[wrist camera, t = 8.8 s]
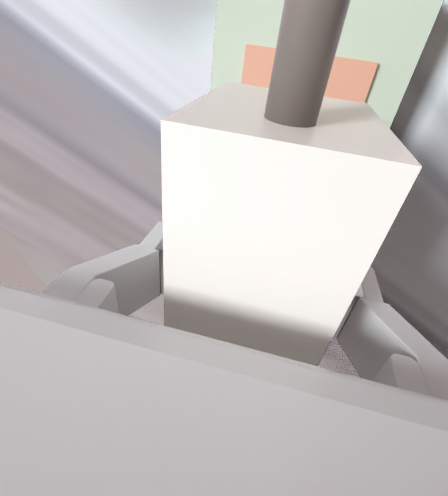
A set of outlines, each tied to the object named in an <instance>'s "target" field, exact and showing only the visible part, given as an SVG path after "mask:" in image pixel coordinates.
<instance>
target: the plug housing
mask: <svg viewBox="0 0 448 496" xmlns="http://www.w3.org/2000/svg"><path fill="white" fill-rule="evenodd" d="M349 4H350V0H284V6H283V11H282V17H281V22H280V28H279V34H278V39H277V45H276V51H275V56H274V62H273V68H272V73H271V79H270V85H269V88H267V87H260V86H254V85H248V84H241V83H235V82H229V81H228V82H226V83H224V84H222V85H221V86H219V87H217V88H215V89H214V90H212V91H210V92H208V93H207V94H205V95H203V96H201V97H200V98H198V99H196V100H194V101H193V102H191V103H189V104H187V105H186V106H184V107H182V108H180V109H179V110H177V111H175V112H174V113H172V114H170V115H168V116H167V117H165V118H163V119H161V162H162V219H163V277H164V325H165V326H168V327H172V328H176V329H180V330H183V331H187V332H191V333H195V334H198V335H202V336H206V337H210V338H214V339H217V340H221V341H225V342H229V343H232V344H236V345H240V346H244V347H247V348H251V349H255V350H259V351H263V352H266V353H270V354H274V355H278V356H281V357H285V358H289V359H293V360H296V361H300V362H304V363H308V364H311V365H315V366H318V365H319V363H320V361H321V359H322V357H323V355H324V353H325V352H326V350H327V348H328V346H329V344H330V342H331V340H332V338H333V336H334V334H335V332H336V331H337V329H338V327H339V325H340V323H341V321H342V319H343V317H344V315H345V313H346V311H347V309H348V308H349V306H350V304H351V302H352V300H353V298H354V296H355V294H356V292H357V290H358V288H359V287H360V285H361V283H362V281H363V279H364V277H365V275H366V273H367V271H368V269H369V267H370V266H371V264H372V262H373V260H374V258H375V256H376V254H377V252H378V250H379V248H380V246H381V245H382V243H383V241H384V239H385V237H386V235H387V233H388V231H389V229H390V227H391V225H392V224H393V222H394V220H395V218H396V216H397V214H398V212H399V210H400V208H401V206H402V204H403V203H404V201H405V199H406V197H407V195H408V193H409V191H410V189H411V187H412V185H413V183H414V182H415V180H416V178H417V176H418V174H419V172H420V170H421V168H422V166H421V164H420V163H419V162H418V161H417V160H416V159H415V157H414V156H413V155H412V154H411V153H410V152H409V151H408V149H407V148H406V147H405V146H404V145H403V144H402V142H401V141H400V140H399V139H398V138H397V137H396V135H395V134H394V133H393V132H392V131H391V130H390V128H389V127H388V126H387V125H386V124H385V123H384V121H383V120H382V119H381V118H380V117H379V116H378V114H377V113H376V112H375V111H374V110H373V109H372V107H371V106H370V105H369V104H368V103H361V102H355V101H349V100H342V99H336V98H330V97H324V94H325V90H326V87H327V83H328V79H329V76H330V72H331V69H332V65H333V61H334V58H335V54H336V51H337V47H338V44H339V40H340V36H341V33H342V29H343V26H344V22H345V18H346V15H347V11H348V8H349Z"/></svg>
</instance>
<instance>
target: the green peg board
mask: <svg viewBox="0 0 448 496" xmlns="http://www.w3.org/2000/svg"><path fill="white" fill-rule="evenodd" d="M443 1H444V0H350V4H349V8H348V11H347V15H346V18H345V22H344V26H343V29H342V33H341V36H340V40H339V44H338V47H337V51H336V54H335V58H334V61H333V65H332V69H331V72H330V76H329V79H328V83H327V87H326V90H325V94H324V97H330V98H336V99H342V100H349V101H355V102H361V103H368V104H369V105H370V106H371V107H372V109H373V110H374V111H375V112H376V113H377V114H378V116H379V117H380V118H381V119H382V120H383V121H384V123H385V124H386V125H387V126H388V127H389V128H390V127H391V124H392V122H393V119H394V117H395V115H396V112H397V110H398V108H399V105H400V103H401V100H402V98H403V96H404V93H405V91H406V89H407V86H408V84H409V82H410V79H411V77H412V74H413V72H414V70H415V67H416V65H417V63H418V60H419V58H420V56H421V53H422V51H423V48H424V46H425V44H426V41H427V39H428V37H429V34H430V32H431V30H432V27H433V25H434V22H435V20H436V18H437V15H438V13H439V11H440V8H441V6H442V3H443ZM283 6H284V0H217V5H216V19H215V33H214V47H213V61H212V75H211V89H210V91H212V90H214V89H215V88H217V87H219V86H221V85H222V84H224V83H226V82H228V81H229V82H235V83H241V84H248V85H254V86H260V87H267V88H269V85H270V79H271V73H272V68H273V62H274V56H275V51H276V45H277V39H278V34H279V28H280V22H281V17H282V11H283Z"/></svg>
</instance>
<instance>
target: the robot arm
mask: <svg viewBox="0 0 448 496" xmlns="http://www.w3.org/2000/svg"><path fill="white" fill-rule="evenodd" d="M160 294H164V277H163V221H159V222H158V223H157V224H156V225H155V226H154V228H153V229H152V230H151V231H150V232H149V234H148V235H147V236H146V237H145V238H144V240H143V241H142V242H141V243H140V245H132V246H129V247H126V248H123V249H121V250H118V251H115V252H112V253H109V254H106V255H104V256H101V257H98V258H95V259H92V260H89V261H87V262H84V263H81V264H78V265H75V266H73V267H70V268H67V269H65V270H64V271H63V272H62V273H61V274H60V275H59V276H58V277H57V278H56V279H55V280H54V281H53V282H52V283H51V284H50V285H49V286H48V287H46V288H45V289H44V290H43V291H42V292H41V293H40V292H37V291H33V290H29V289H25V288H22V287H18V286H14V285H10V284H7V283H3V282H0V496H448V359H447V358H446V357H445V356H443V355H442V354H441V353H440V352H439V351H438V350H437V349H436V348H435V347H434V346H433V345H432V344H431V343H430V342H429V341H428V340H426V339H425V338H424V337H423V336H422V335H421V334H420V333H419V332H418V331H417V330H416V329H415V328H414V327H413V326H412V325H411V324H409V323H408V322H407V321H406V320H405V319H404V318H403V317H402V316H401V315H400V314H399V313H398V312H397V311H396V310H395V309H393V308H392V307H391V306H390V305H389V304H386V303H384V302H383V298H382V295H381V291H380V288H379V284H378V281H377V278H376V274H375V271H374V269H373V268H372V267H369V269H368V271H367V273H366V275H365V277H364V279H363V281H362V283H361V285H360V287H359V288H358V290H357V292H356V294H355V296H354V298H353V300H352V302H351V304H350V306H349V308H348V309H347V311H346V313H345V315H344V317H343V319H342V321H341V323H340V325H339V327H338V329H337V331H336V332H335V334H334V336H333V337H334V338H337V341H338V342H339V344H340V345H341V347H342V349H343V350H344V352H345V353H346V355H347V357H348V358H349V360H350V361H351V363H352V365H353V366H354V368H355V369H356V371H357V373H358V374H359V376H360V377H361V378H360V377H356V376H352V375H349V374H345V373H341V372H337V371H334V370H330V369H326V368H322V367H319V366H315V365H311V364H308V363H304V362H300V361H296V360H293V359H289V358H285V357H281V356H278V355H274V354H270V353H266V352H263V351H259V350H255V349H251V348H247V347H244V346H240V345H236V344H232V343H229V342H225V341H221V340H217V339H214V338H210V337H206V336H202V335H198V334H195V333H191V332H187V331H183V330H180V329H176V328H172V327H168V326H165V325H161V324H157V323H153V322H149V321H146V320H142V319H138V318H134V317H131V316H128V315H130V314H131V313H133V312H134V311H136V310H138V309H139V308H141V307H142V306H144V305H145V304H147V303H148V302H150V301H151V300H153V299H155V298H156V297H158V296H159V295H160Z"/></svg>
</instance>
